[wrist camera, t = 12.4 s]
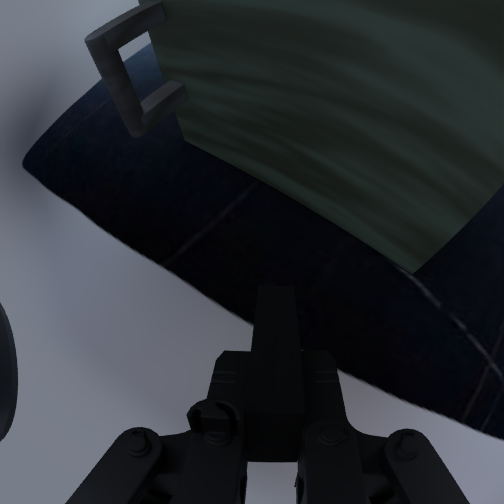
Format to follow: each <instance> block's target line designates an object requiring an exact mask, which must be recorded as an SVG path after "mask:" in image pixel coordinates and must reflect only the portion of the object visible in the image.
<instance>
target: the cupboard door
mask: <svg viewBox="0 0 504 504" xmlns="http://www.w3.org/2000/svg"><path fill="white" fill-rule="evenodd" d="M138 1H139V4H140V5H139V6H137V7H135V8H134V9H131V10H129V11H127V12H126V13H124V14H122V15H120V16H118V17H117V18H115V19H113V20H111V21H110V22H108V23H106V24H105V25H103V26H101V27H100V28H98V29H97V30H95V31H93V32H92V33H91V34H89V35H88V36H87V37H86V38H85V43H86V45H87V47H88V50H89V52H90V54H91V56H92V58H93V60H94V62H95V64H96V67H97V68H98V71H99V73H100V75H101V77H102V79H103V81H104V83H105V85H106V87H107V89H108V91H109V93H110V95H111V97H112V99H113V101H114V103H115V105H116V107H117V109H118V111H119V113H120V115H121V117H122V119H123V121H124V123H125V125H126V127H127V129H128V131H129V133H130V135H131V136H132V137H134V138H140V137H142V136H144V135H146V134H147V133H148V132H149V131H150V130H151V129H153V128H154V127H155V126H156V125H157V124H158V123H160V122H161V121H162V120H163V119H164V118H165V117H167V116H168V115H169V114H170V113H171V112H173V111H175V114H176V117H177V120H178V123H179V125H180V128H181V131H182V134H183V137H184V140H185V141H187V142H189V143H191V144H193V145H195V146H197V147H199V148H201V149H202V150H204V151H206V152H208V153H210V154H212V155H214V156H216V157H218V158H220V159H222V160H224V161H226V162H227V163H229V164H231V165H233V166H235V167H237V168H239V169H241V170H242V171H244V172H246V173H248V174H250V175H252V176H253V177H255V178H257V179H259V180H261V181H262V182H264V183H266V184H268V185H270V186H271V187H273V188H275V189H277V190H278V191H280V192H282V193H284V194H285V195H287V196H289V197H291V198H292V199H294V200H296V201H297V202H299V203H301V204H302V205H304V206H306V207H308V208H309V209H311V210H313V211H314V212H316V213H318V214H319V215H321V216H323V217H324V218H326V219H327V220H329V221H331V222H332V223H334V224H336V225H337V226H339V227H340V228H342V229H344V230H345V231H347V232H348V233H350V234H352V235H353V236H355V237H356V238H358V239H359V240H361V241H363V242H364V243H366V244H367V245H369V246H370V247H372V248H373V249H375V250H376V251H378V252H379V253H381V254H383V255H384V256H386V257H387V258H389V259H390V260H392V261H393V262H395V263H396V264H397V265H399V266H400V267H402V268H403V269H405V270H406V271H408V272H409V273H411V274H413V273H414V272H416V271H417V270H418V269H419V268H420V267H421V266H422V265H424V264H425V263H426V262H427V261H428V260H429V259H430V258H431V257H432V256H434V255H435V254H436V253H437V252H438V251H439V250H440V249H441V248H442V247H443V246H444V245H445V244H446V243H447V242H448V241H450V240H451V239H452V238H453V237H454V236H455V235H456V234H457V233H458V232H459V231H460V230H461V229H462V228H463V227H464V226H465V225H466V224H467V223H468V222H469V221H470V220H471V219H472V218H473V217H474V216H475V215H476V214H477V212H478V211H479V210H480V209H481V208H482V207H483V206H484V205H485V204H486V203H487V202H488V201H489V200H490V199H491V197H492V196H493V195H494V194H495V193H496V192H497V191H498V190H499V189H500V187H501V186H502V185H503V184H504V0H138ZM147 31H148V33H149V36H150V39H151V42H152V45H153V48H154V51H155V55H156V58H157V61H158V64H159V67H160V70H161V73H162V76H163V79H164V82H165V84H164V85H163V86H162V87H160V88H159V89H158V90H156V91H155V92H154V93H152V94H151V95H150V96H148V97H147V98H146V99H145V100H143V101H142V102H141V103H140V101H139V99H138V97H137V94H136V92H135V90H134V87H133V85H132V83H131V80H130V78H129V75H128V73H127V71H126V68H125V66H124V63H123V61H122V59H121V56H120V54H119V51H118V49H119V48H121V47H122V46H124V45H125V44H127V43H128V42H130V41H132V40H133V39H135V38H137V37H138V36H140V35H142V34H143V33H145V32H147Z"/></svg>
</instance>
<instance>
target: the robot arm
mask: <svg viewBox="0 0 504 504" xmlns="http://www.w3.org/2000/svg"><path fill="white" fill-rule="evenodd" d="M187 418H188V421H189V425H190V428H191V430H189V431H186V432H184V433H180V434H174V435H165V436H159V435H158V434H157V433H156V432H154V431H152V430H151V429H148V428H144V427H136V428H131V429H128V430H126V431H124V432H123V433H122V434H121V435H120V436H119V437H118V438H117V439H116V440H115V441H114V443H113V444H112V445H111V447H110V448H109V449H108V450H107V452H106V453H105V454H104V455H103V457H102V458H101V459H100V461H99V462H98V463H97V464H96V466H95V467H94V468H93V469H92V471H91V472H90V473H89V474H88V476H87V477H86V478H85V480H84V481H83V482H82V483H81V484H80V486H79V487H78V488H77V490H76V491H75V492H74V493H73V495H72V496H71V497H70V498H69V500H68V501H67V502H66V503H65V504H245V497H246V487H247V463H248V462H297V460H298V473H297V477H296V482H295V486H294V487H296V497H297V498H296V502H297V503H296V504H470V503H469V502H468V500H467V499H466V497H465V496H464V494H463V492H462V491H461V489H460V487H459V486H458V484H457V483H456V481H455V480H454V478H453V477H452V475H451V473H450V472H449V470H448V469H447V467H446V466H445V464H444V463H443V461H442V460H441V458H440V457H439V455H438V454H437V452H436V451H435V449H434V447H433V446H432V445H431V443H430V442H429V440H428V439H427V438H426V437H425V436H424V435H423V434H422V433H421V432H419V431H416V430H414V429H401V430H397V431H395V432H394V433H392V434H391V435H390V436H389V437H388V438H387V437H380V436H373V435H368V434H364V433H362V432H359V431H358V430H356V429H355V428H354V427H353V426H351V424H350V423H349V421H348V419H347V416H346V412H345V406H344V401H343V396H342V391H341V386H340V383H339V376H338V373H337V367H336V362H335V359H334V358H333V357H332V356H331V354H330V353H329V352H328V351H327V350H317V351H301V347H300V336H299V326H298V316H297V306H296V297H295V288H294V286H258V293H257V302H256V311H255V320H254V328H253V337H252V346H251V351H224V352H223V353H222V354H221V355H220V356H219V357H218V358H217V360H216V362H215V366H214V371H213V375H212V379H211V383H210V387H209V391H208V395H207V399H205V400H202V401H199V402H197V403H196V404H195V405H193V406H192V407H191V408H190V410H189V411H188V413H187Z"/></svg>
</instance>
